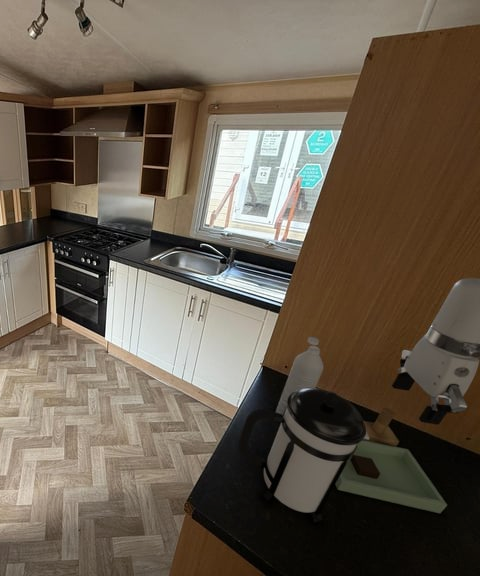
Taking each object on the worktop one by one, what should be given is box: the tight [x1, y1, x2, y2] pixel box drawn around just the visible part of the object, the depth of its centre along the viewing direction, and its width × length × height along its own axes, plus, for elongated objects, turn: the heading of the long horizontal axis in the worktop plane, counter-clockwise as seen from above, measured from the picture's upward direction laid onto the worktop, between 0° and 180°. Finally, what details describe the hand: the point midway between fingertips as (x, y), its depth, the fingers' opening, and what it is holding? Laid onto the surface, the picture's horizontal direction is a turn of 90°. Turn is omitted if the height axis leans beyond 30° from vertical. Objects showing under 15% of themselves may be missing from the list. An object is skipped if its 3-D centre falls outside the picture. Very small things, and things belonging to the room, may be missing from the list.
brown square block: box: [350, 455, 380, 479], centre depth 75 cm, size 4×4×2 cm
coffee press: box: [238, 387, 369, 525], centre depth 65 cm, size 17×16×30 cm
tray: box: [334, 440, 448, 514], centre depth 75 cm, size 20×14×3 cm
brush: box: [363, 407, 400, 447], centre depth 82 cm, size 7×5×10 cm
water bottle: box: [275, 336, 324, 417], centre depth 86 cm, size 9×6×25 cm
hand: (413, 404), depth 68 cm, fingers open, 9 cm apart
